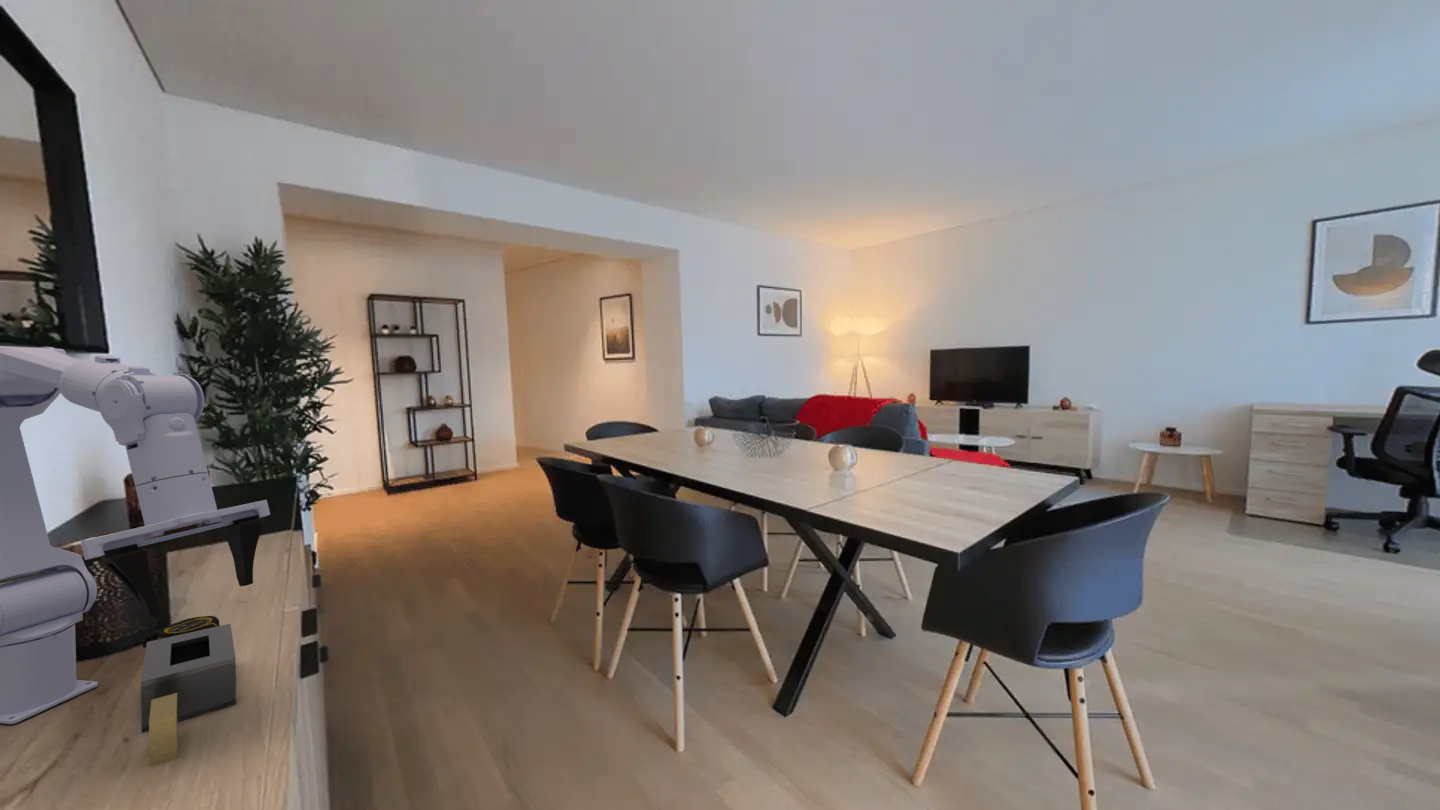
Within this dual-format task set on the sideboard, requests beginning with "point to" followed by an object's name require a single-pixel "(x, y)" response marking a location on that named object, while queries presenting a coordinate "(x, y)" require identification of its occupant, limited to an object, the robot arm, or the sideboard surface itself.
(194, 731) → the sideboard surface
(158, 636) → the tape measure
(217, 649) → the coin box
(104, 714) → the sideboard surface
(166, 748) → the wooden rectangular block
